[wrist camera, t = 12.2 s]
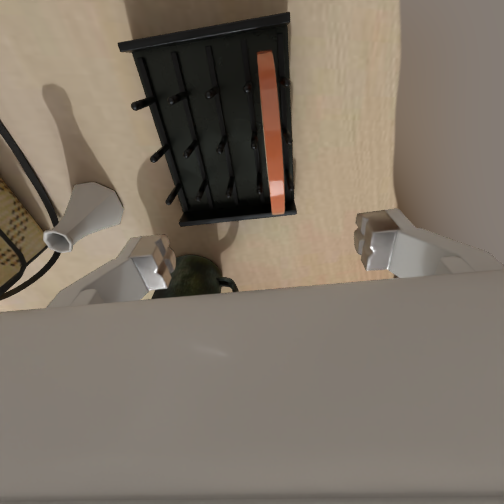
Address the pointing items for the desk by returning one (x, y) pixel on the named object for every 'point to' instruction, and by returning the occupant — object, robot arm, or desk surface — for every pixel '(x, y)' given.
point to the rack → (216, 115)
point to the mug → (194, 279)
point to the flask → (84, 216)
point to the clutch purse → (20, 231)
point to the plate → (271, 130)
